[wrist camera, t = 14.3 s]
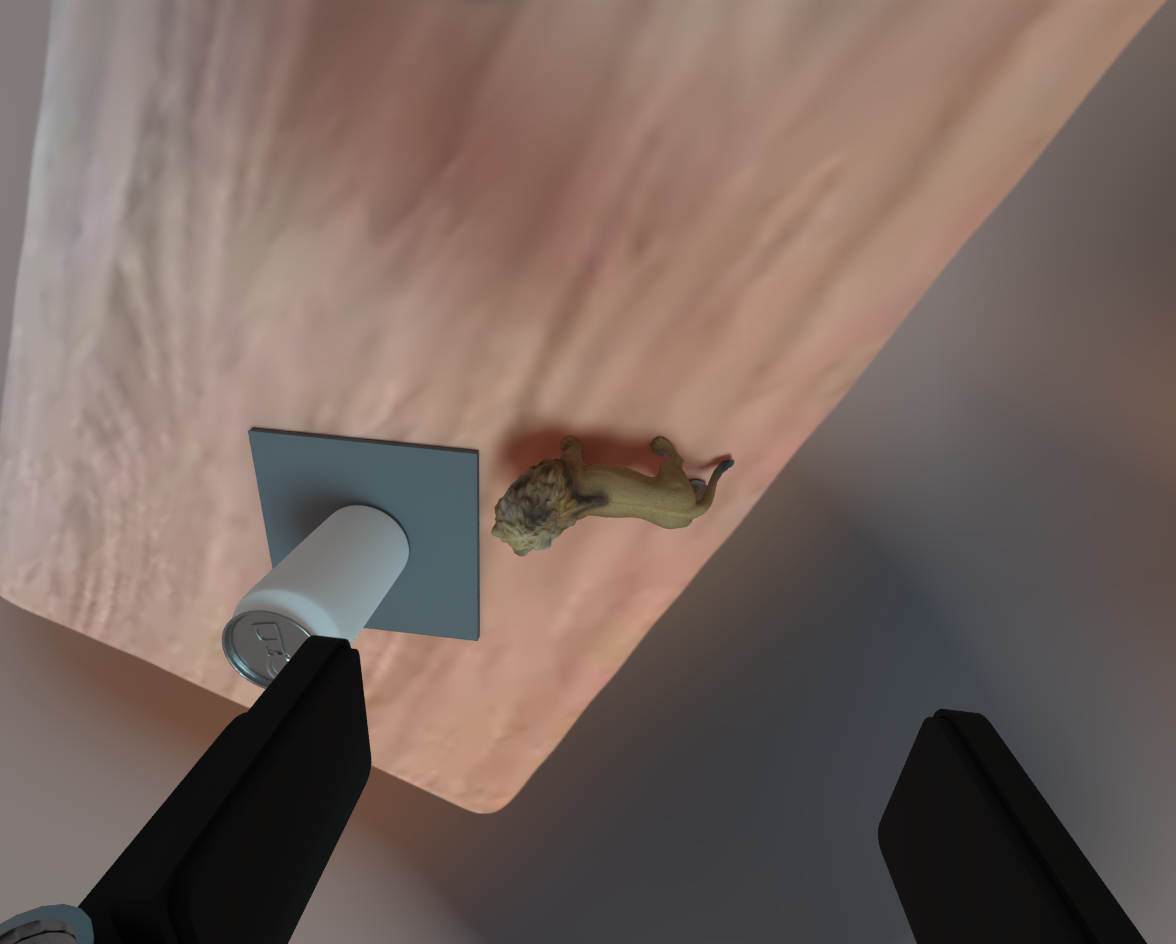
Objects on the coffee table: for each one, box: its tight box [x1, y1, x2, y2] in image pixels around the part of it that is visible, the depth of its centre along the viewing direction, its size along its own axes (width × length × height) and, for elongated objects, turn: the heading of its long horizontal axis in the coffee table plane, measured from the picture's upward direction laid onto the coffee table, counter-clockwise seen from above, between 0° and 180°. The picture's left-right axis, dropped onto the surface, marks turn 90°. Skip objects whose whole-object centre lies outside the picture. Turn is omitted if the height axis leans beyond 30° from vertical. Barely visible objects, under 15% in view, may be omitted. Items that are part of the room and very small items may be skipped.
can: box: [222, 505, 409, 689], centre depth 36 cm, size 6×6×12 cm
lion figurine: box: [492, 436, 734, 556], centre depth 34 cm, size 15×5×9 cm, turn 97°
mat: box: [248, 428, 480, 641], centre depth 42 cm, size 16×16×1 cm
